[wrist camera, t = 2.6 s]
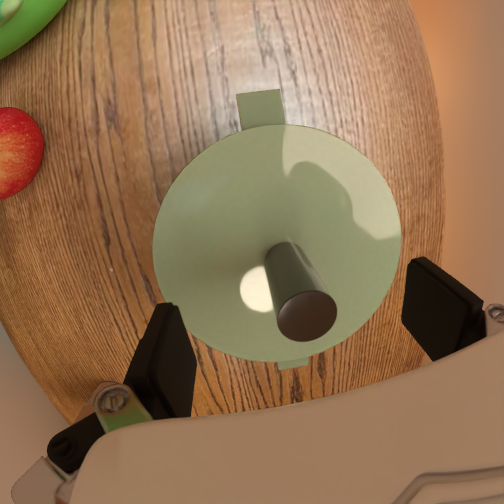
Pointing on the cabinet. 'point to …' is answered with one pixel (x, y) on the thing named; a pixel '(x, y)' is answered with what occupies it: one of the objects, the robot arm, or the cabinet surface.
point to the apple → (18, 150)
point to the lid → (277, 243)
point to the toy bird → (24, 21)
